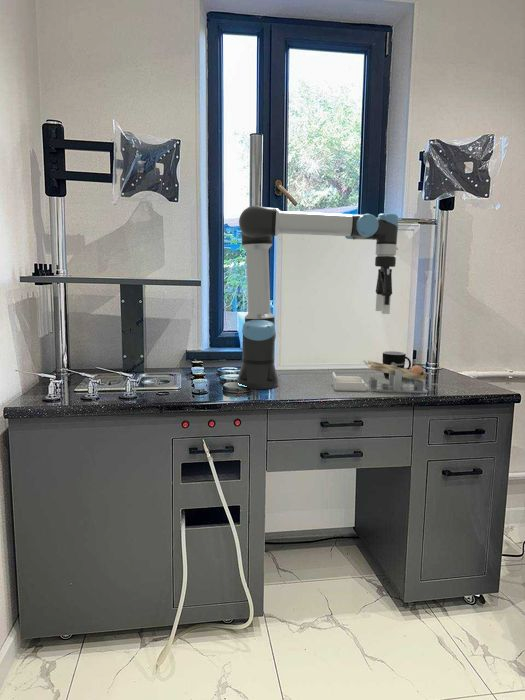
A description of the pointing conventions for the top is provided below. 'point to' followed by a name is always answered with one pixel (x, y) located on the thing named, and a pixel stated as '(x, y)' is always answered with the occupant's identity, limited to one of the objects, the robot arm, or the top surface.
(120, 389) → the top surface
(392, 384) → the stand
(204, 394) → the top surface
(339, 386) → the dish
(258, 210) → the robot arm
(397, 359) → the mug
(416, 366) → the ball
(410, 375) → the wooden ramp
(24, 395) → the top surface
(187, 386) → the top surface
